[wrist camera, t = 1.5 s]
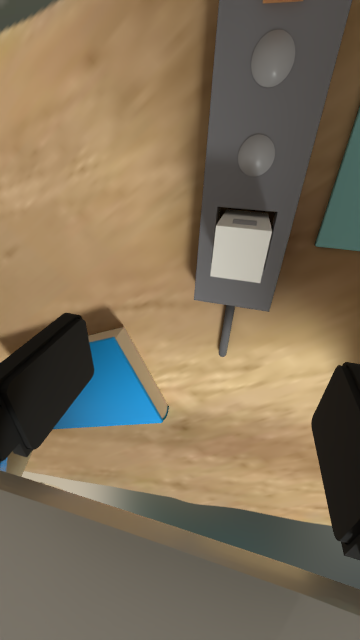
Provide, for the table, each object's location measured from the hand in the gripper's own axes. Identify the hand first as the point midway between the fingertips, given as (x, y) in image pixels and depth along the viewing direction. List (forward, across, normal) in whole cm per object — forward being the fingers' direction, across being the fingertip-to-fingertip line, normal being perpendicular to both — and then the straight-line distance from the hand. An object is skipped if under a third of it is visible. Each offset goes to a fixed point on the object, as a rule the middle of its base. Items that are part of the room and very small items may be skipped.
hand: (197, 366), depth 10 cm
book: (+21, +21, +26) cm, 40 cm away
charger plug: (+20, -1, -1) cm, 21 cm away
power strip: (+21, -1, -1) cm, 21 cm away
